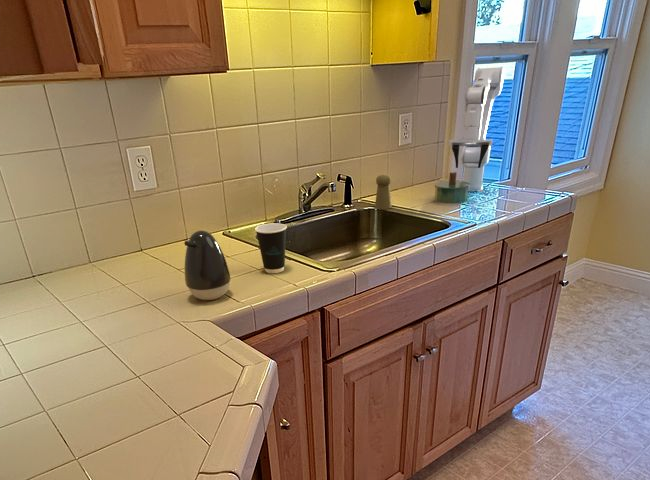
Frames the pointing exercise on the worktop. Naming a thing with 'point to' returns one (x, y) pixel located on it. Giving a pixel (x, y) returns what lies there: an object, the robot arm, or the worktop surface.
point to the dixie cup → (272, 246)
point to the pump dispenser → (205, 267)
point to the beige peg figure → (383, 192)
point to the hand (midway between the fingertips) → (467, 167)
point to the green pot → (451, 195)
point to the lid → (452, 183)
